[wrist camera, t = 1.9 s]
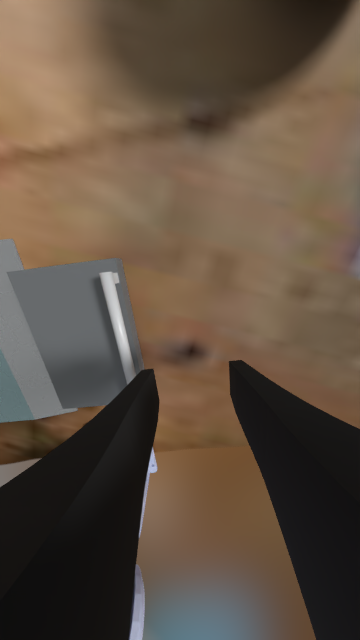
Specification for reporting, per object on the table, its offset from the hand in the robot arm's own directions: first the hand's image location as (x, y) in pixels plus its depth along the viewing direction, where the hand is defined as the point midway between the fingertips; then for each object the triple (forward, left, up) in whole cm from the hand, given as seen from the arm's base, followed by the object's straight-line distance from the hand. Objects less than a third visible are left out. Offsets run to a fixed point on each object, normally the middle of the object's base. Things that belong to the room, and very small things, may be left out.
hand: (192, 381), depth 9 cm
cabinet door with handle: (0, +10, -9) cm, 13 cm away
